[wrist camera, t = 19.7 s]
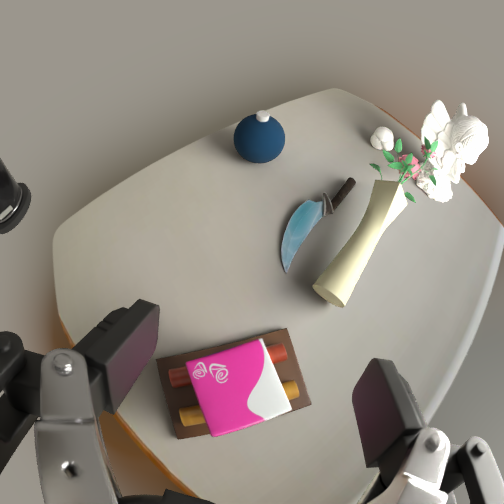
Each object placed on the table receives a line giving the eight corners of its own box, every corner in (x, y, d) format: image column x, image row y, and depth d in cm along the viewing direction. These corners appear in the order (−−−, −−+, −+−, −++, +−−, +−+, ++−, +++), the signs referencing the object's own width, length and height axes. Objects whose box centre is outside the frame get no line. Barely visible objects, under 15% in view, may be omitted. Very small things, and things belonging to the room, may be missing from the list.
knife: (258, 255, 38) (288, 277, 37) (261, 250, 36) (291, 274, 36) (331, 168, 46) (353, 185, 45) (334, 163, 44) (357, 180, 44)
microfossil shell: (374, 138, 54) (383, 120, 49) (392, 152, 52) (402, 135, 47) (365, 144, 52) (374, 125, 47) (384, 159, 50) (395, 141, 46)
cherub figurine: (427, 208, 46) (484, 138, 28) (394, 161, 51) (436, 89, 33) (456, 199, 49) (505, 141, 31) (427, 158, 54) (466, 98, 36)
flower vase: (297, 293, 43) (387, 156, 51) (362, 334, 37) (438, 179, 45) (285, 262, 33) (390, 112, 41) (372, 314, 27) (451, 136, 35)
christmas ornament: (289, 157, 47) (301, 113, 38) (259, 181, 43) (267, 133, 35) (254, 135, 49) (260, 91, 40) (222, 156, 45) (223, 109, 37)
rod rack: (179, 438, 25) (174, 443, 23) (157, 359, 30) (151, 357, 27) (309, 403, 29) (317, 405, 26) (285, 329, 33) (291, 323, 30)
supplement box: (250, 353, 28) (265, 335, 18) (269, 402, 26) (296, 413, 16) (198, 369, 27) (183, 361, 17) (217, 420, 24) (213, 442, 14)
